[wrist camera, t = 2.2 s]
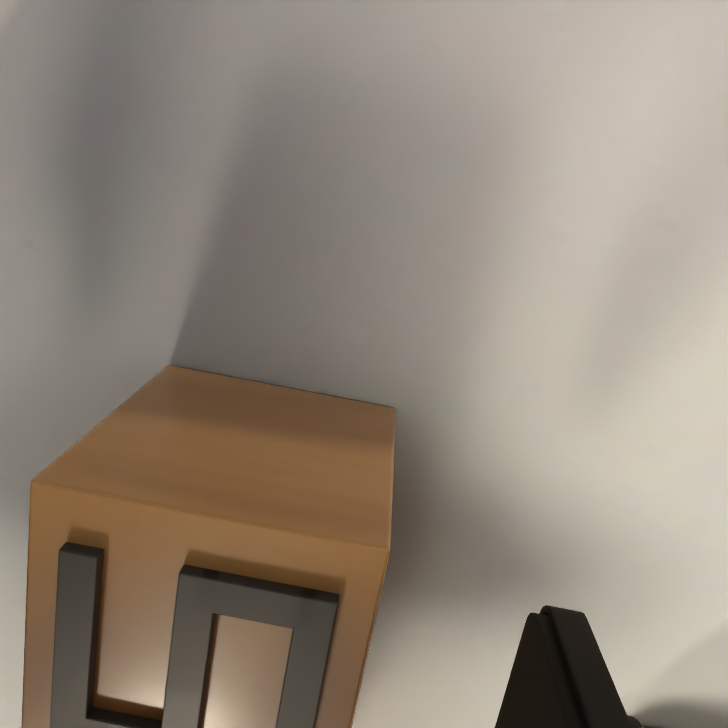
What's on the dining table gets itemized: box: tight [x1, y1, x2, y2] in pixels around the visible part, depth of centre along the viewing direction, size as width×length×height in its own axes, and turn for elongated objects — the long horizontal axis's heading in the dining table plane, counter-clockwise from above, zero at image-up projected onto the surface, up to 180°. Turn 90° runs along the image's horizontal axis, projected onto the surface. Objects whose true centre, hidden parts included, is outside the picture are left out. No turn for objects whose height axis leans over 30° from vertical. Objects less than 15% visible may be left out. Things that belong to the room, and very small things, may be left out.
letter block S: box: [22, 365, 396, 728], centre depth 11 cm, size 4×4×5 cm
